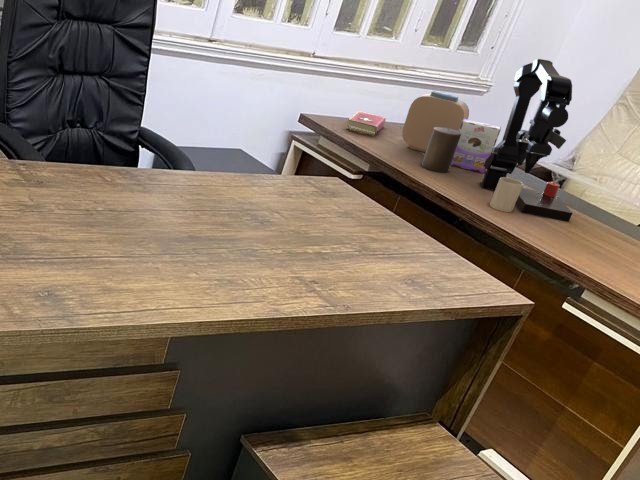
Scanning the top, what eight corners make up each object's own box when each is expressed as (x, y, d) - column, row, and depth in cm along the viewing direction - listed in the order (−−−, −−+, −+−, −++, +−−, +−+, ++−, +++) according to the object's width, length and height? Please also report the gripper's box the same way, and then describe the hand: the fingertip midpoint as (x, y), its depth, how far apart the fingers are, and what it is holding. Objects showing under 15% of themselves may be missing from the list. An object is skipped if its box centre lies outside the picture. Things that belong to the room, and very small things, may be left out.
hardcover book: (383, 127, 335) (386, 117, 333) (374, 136, 318) (377, 125, 316) (355, 120, 339) (358, 110, 336) (345, 129, 322) (348, 118, 320)
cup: (491, 209, 256) (502, 182, 251) (487, 201, 262) (498, 175, 257) (514, 213, 255) (526, 186, 250) (509, 206, 261) (520, 180, 256)
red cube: (556, 198, 266) (561, 185, 264) (544, 195, 267) (549, 183, 264) (553, 194, 270) (558, 182, 268) (541, 192, 270) (546, 180, 268)
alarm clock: (454, 155, 310) (475, 99, 298) (449, 159, 303) (470, 102, 291) (404, 141, 318) (422, 86, 307) (397, 145, 311) (415, 88, 299)
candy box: (485, 170, 297) (502, 126, 288) (484, 173, 292) (501, 129, 284) (447, 161, 301) (463, 117, 292) (446, 164, 296) (462, 120, 288)
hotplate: (521, 212, 257) (525, 203, 255) (508, 193, 274) (512, 184, 273) (570, 222, 256) (574, 213, 254) (554, 202, 273) (557, 193, 271)
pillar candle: (447, 174, 284) (463, 132, 276) (420, 168, 287) (434, 126, 279) (448, 167, 292) (463, 127, 284) (421, 161, 295) (435, 121, 286)
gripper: (578, 131, 236) (556, 182, 244) (561, 117, 252) (540, 165, 260) (541, 124, 237) (520, 175, 245) (525, 111, 253) (506, 159, 261)
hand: (522, 169), depth 253 cm, fingers open, 9 cm apart
